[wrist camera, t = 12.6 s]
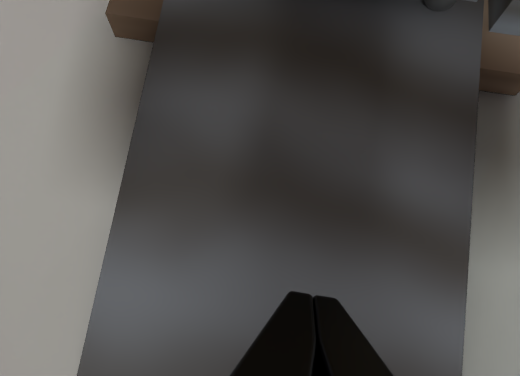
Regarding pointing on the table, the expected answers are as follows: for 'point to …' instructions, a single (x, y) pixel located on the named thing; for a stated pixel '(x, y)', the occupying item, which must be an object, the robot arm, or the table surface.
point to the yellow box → (441, 4)
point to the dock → (297, 177)
